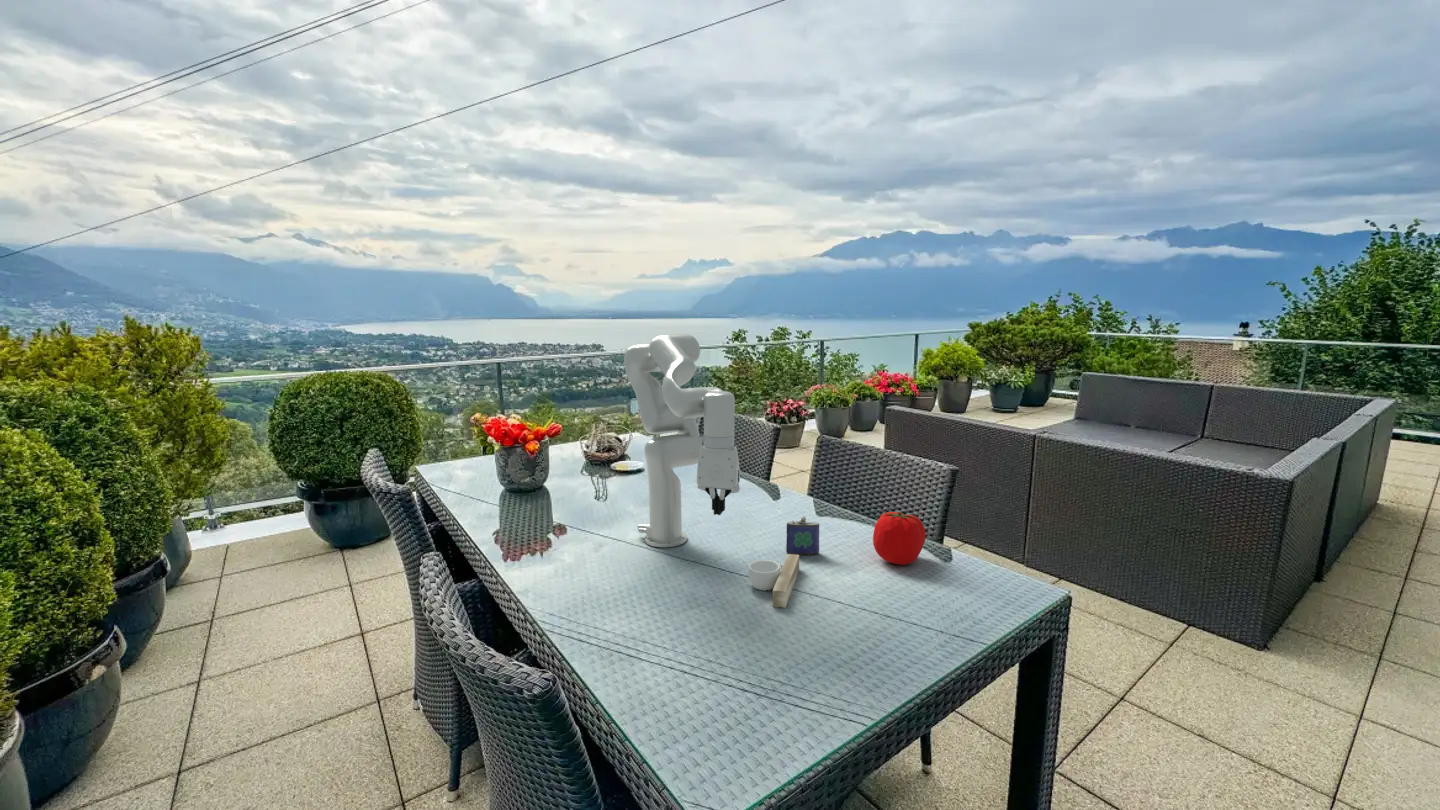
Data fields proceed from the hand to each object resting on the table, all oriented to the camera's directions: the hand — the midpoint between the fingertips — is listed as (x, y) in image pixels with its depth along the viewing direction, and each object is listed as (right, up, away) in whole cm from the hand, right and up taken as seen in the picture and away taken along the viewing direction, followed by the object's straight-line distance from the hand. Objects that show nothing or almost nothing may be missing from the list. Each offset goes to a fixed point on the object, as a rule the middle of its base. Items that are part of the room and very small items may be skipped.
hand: (718, 513), depth 146 cm
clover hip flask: (+24, -15, +18) cm, 33 cm away
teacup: (+12, -18, -2) cm, 22 cm away
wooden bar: (+17, -18, -3) cm, 24 cm away
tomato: (+49, -15, +13) cm, 53 cm away
